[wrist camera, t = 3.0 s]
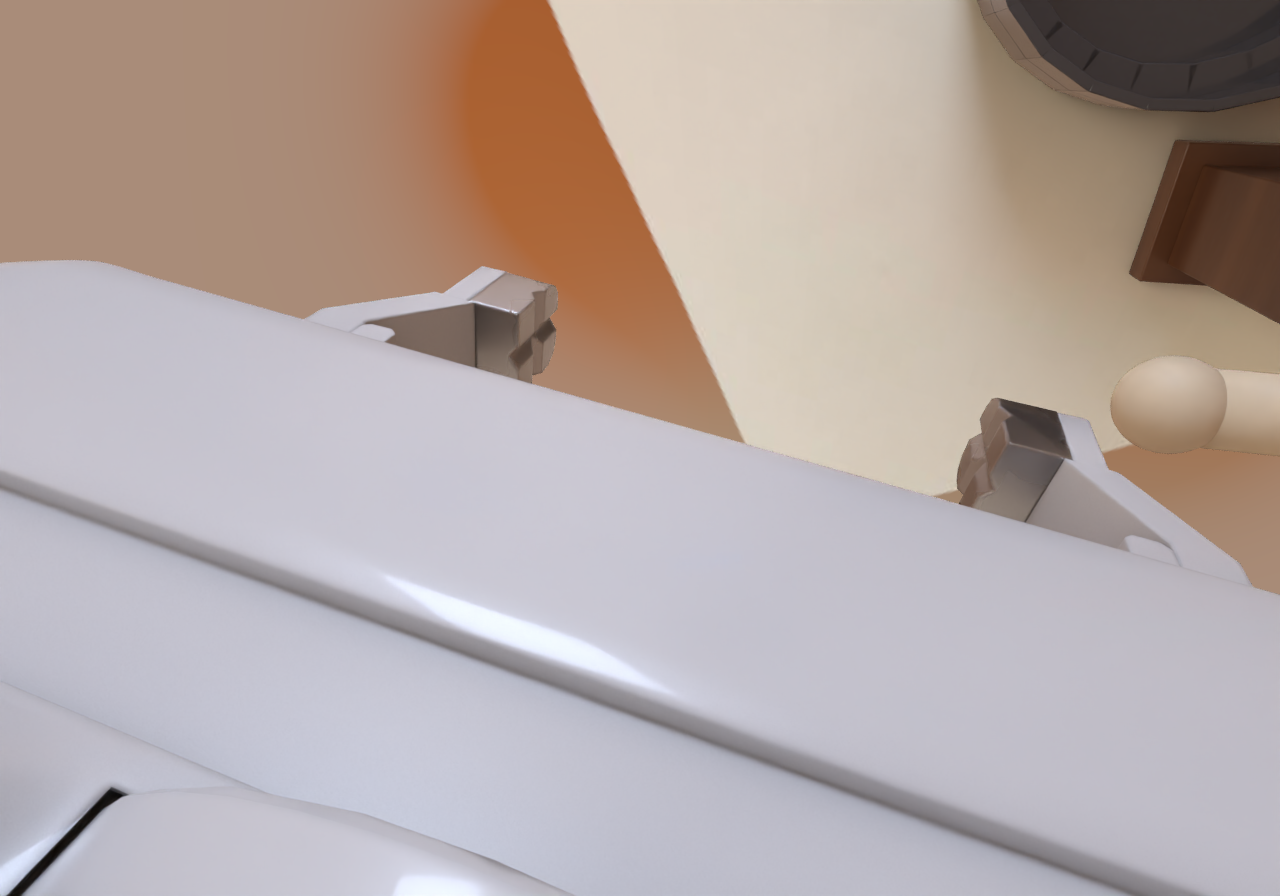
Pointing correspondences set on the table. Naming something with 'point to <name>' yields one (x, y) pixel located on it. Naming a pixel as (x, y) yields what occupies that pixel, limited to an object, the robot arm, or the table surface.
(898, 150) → the table surface
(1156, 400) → the drumstick
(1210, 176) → the stand
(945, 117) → the table surface
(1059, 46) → the bowl
